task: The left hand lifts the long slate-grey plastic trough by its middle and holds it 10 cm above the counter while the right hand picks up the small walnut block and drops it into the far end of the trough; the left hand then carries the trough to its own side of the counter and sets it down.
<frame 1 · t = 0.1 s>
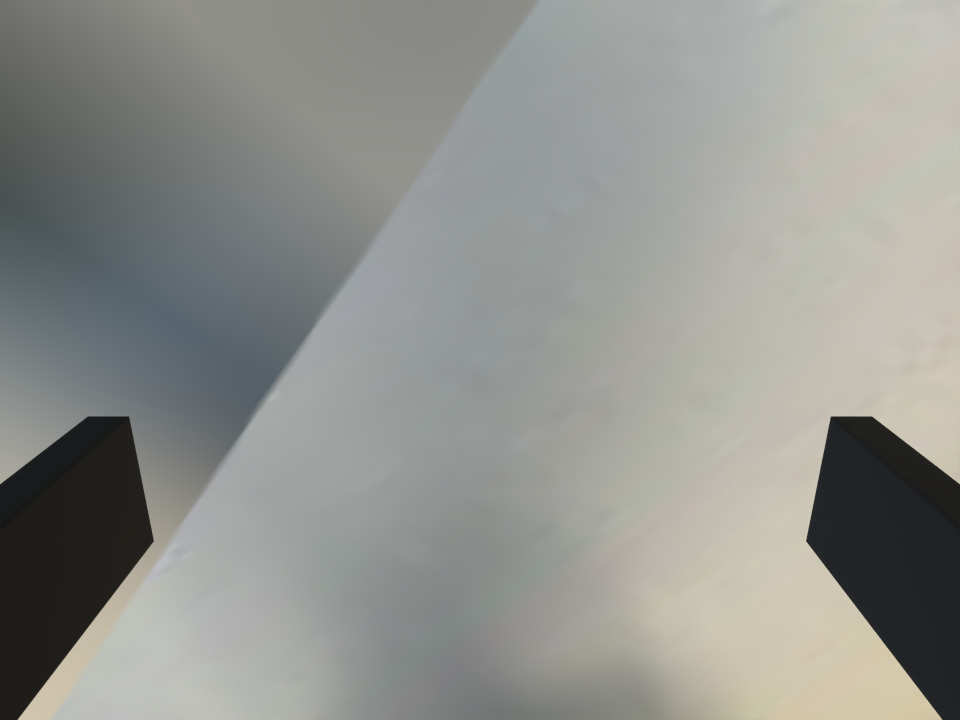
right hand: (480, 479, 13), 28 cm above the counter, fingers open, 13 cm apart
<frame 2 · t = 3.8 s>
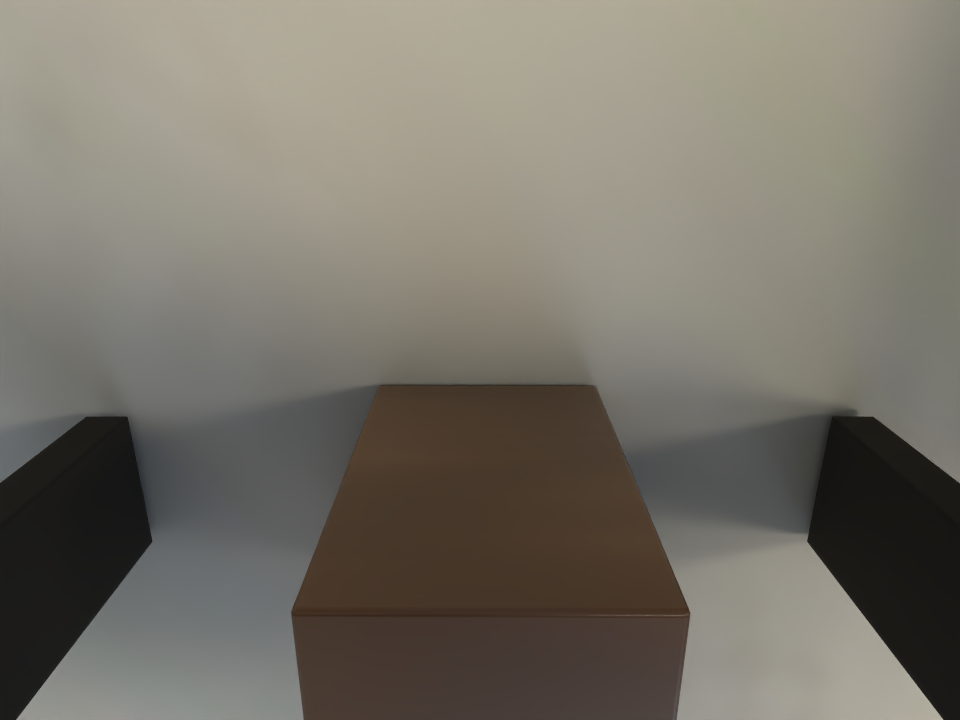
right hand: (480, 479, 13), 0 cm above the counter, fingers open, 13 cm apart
walnut block: (486, 480, 13), on the counter
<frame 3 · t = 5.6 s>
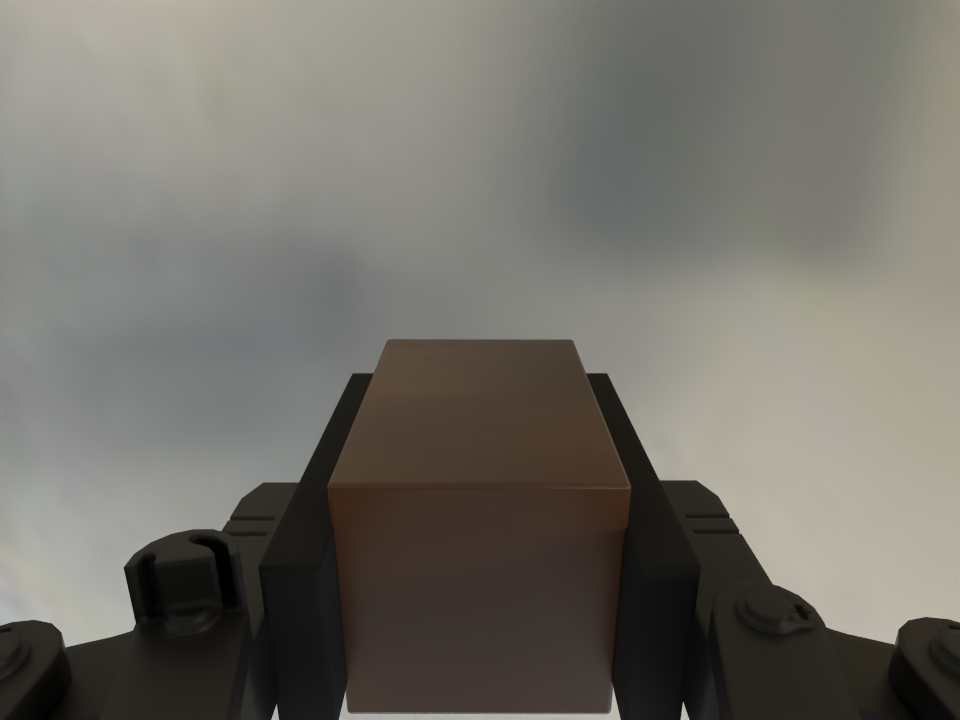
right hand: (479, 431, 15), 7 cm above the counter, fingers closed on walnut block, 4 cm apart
walnut block: (480, 423, 15), point 7 cm above the counter, touching right hand
when the right hand's fingers open (16 cm above the counter, at t = 8.3 s): walnut block drops 5 cm, resting on trough.
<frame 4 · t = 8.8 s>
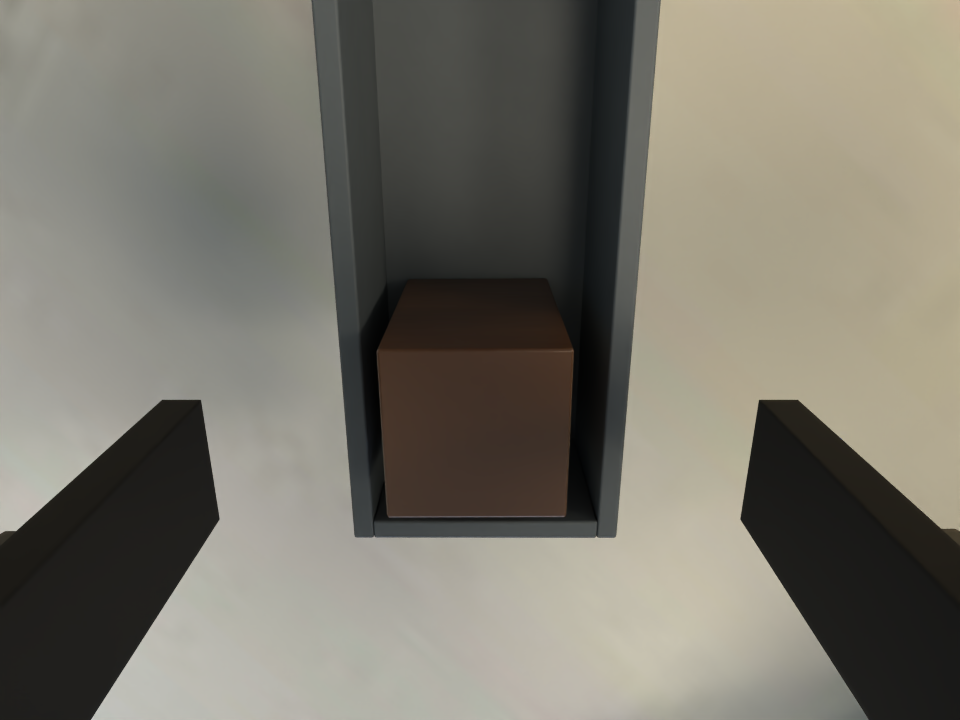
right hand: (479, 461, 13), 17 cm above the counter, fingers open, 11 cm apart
walnut block: (477, 344, 20), point 10 cm above the counter, touching trough
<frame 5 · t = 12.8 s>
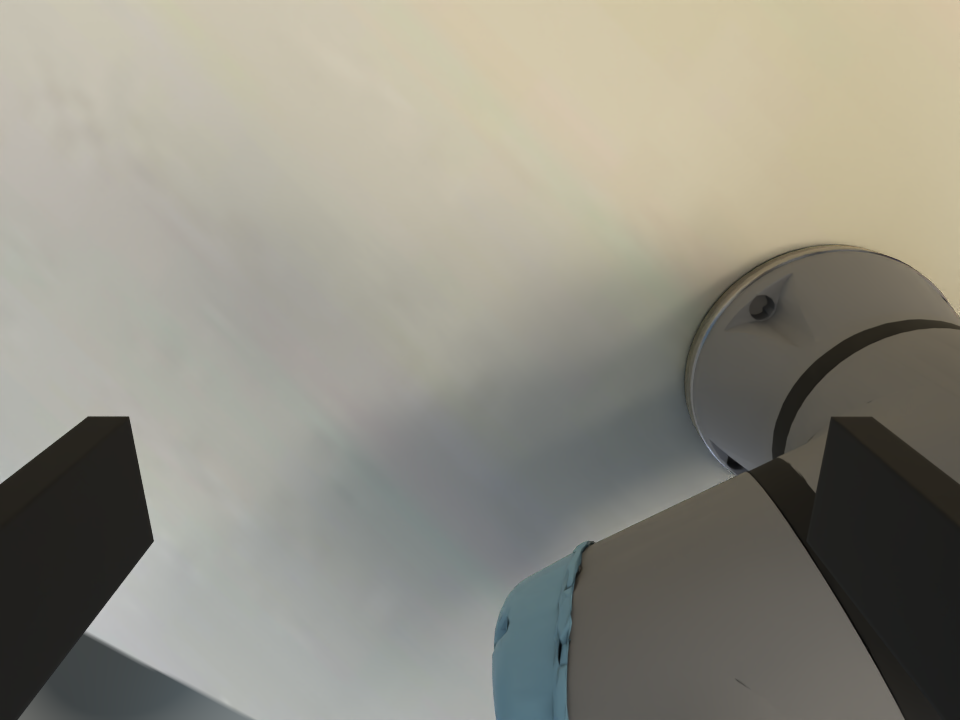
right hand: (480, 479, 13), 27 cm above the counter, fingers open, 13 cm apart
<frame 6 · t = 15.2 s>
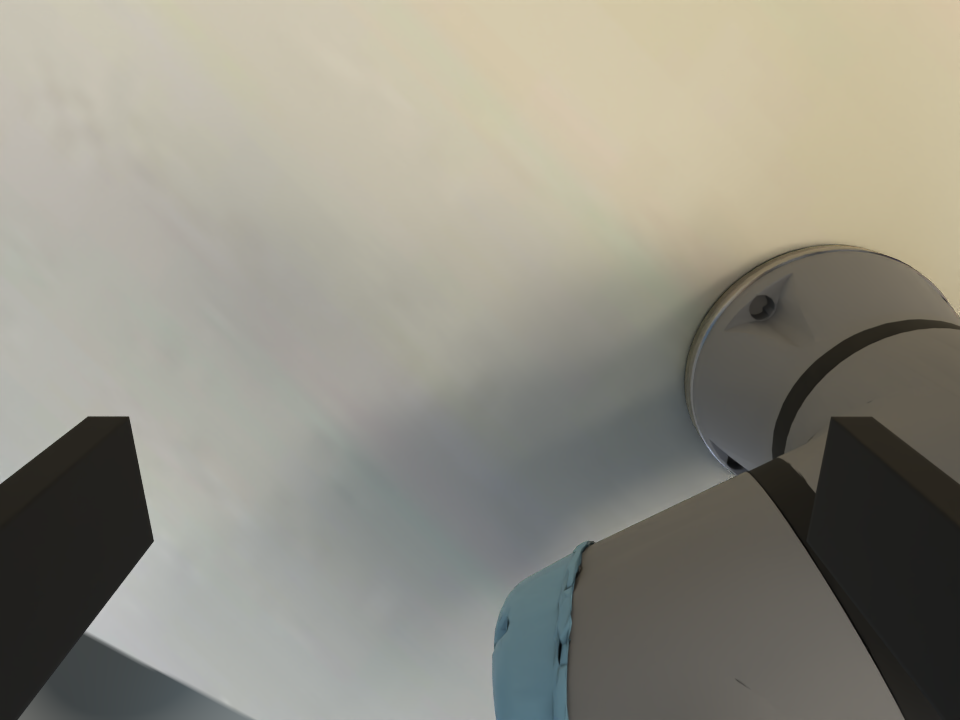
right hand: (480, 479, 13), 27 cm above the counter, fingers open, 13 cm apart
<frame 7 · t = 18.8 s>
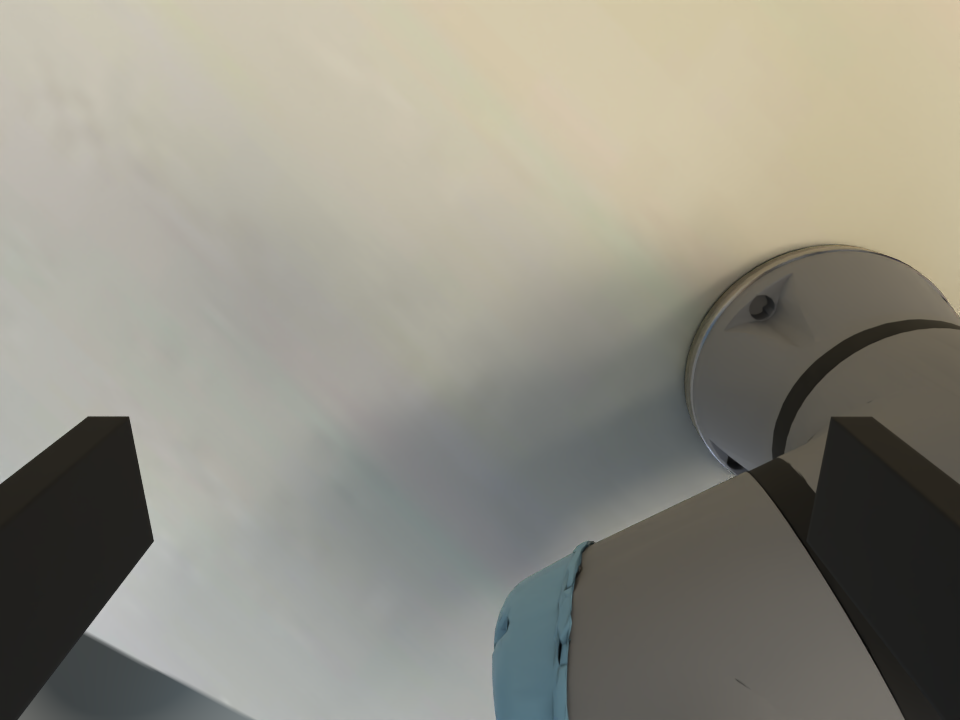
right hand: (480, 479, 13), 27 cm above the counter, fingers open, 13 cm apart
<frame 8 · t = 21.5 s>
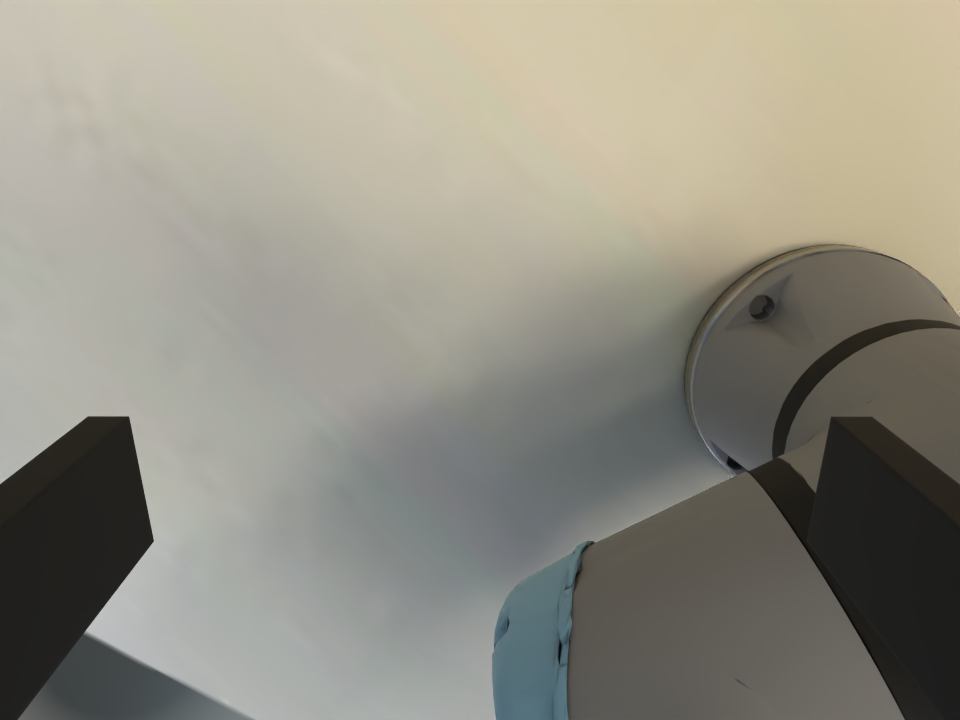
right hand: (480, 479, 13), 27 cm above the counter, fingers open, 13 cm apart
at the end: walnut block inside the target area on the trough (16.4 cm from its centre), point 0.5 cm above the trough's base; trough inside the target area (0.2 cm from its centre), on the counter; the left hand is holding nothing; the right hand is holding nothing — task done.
